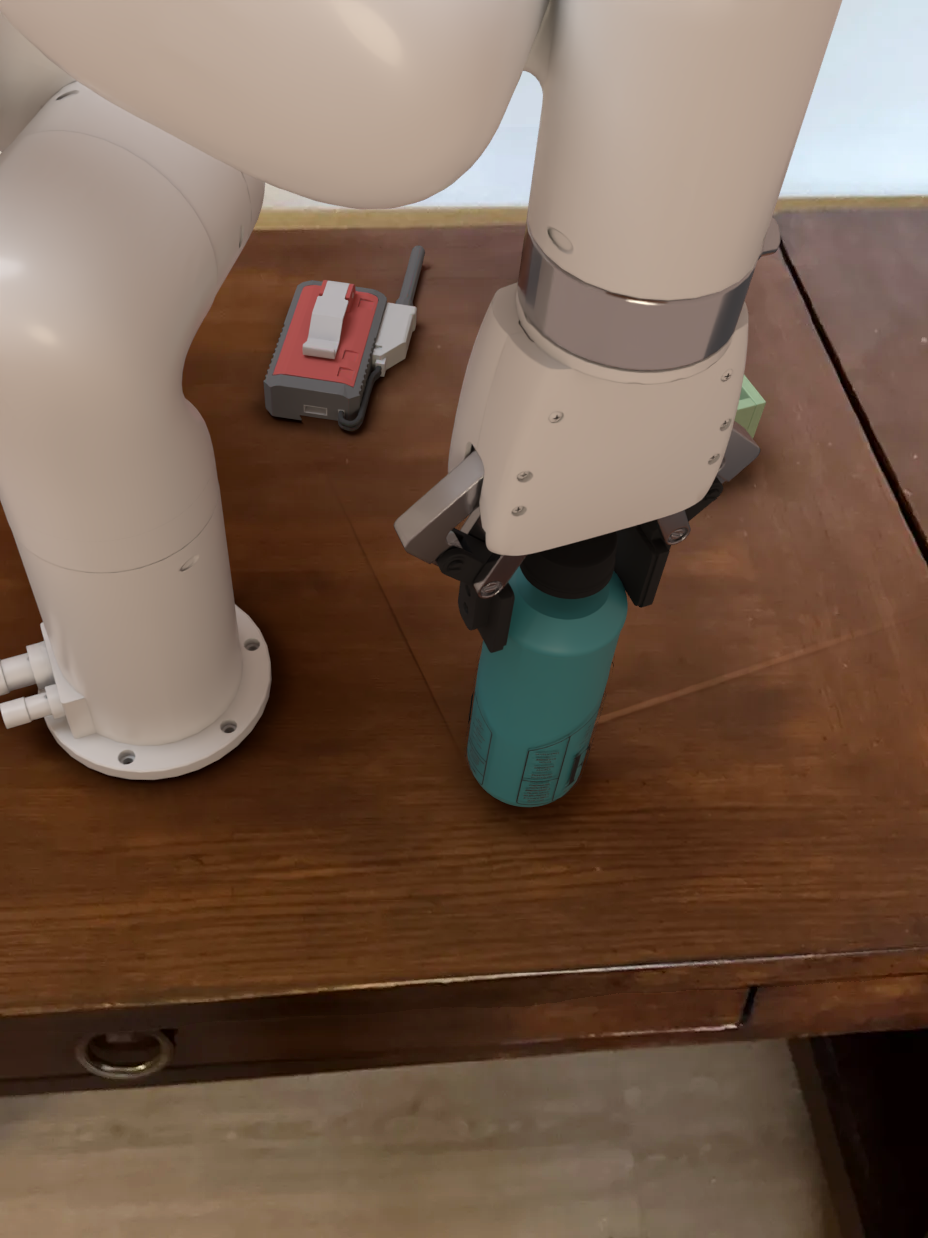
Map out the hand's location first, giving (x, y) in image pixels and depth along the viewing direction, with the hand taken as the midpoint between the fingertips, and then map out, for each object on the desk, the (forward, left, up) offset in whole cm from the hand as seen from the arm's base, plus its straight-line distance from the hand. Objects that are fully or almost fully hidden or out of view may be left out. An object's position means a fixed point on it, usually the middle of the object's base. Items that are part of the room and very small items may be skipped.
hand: (558, 602), depth 54 cm
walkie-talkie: (+3, +36, -15) cm, 40 cm away
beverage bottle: (0, 0, -15) cm, 15 cm away
